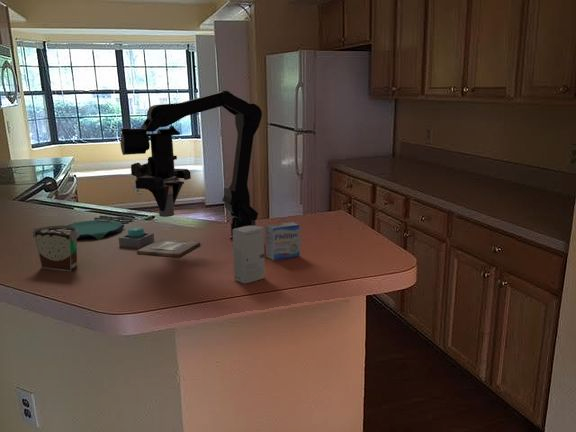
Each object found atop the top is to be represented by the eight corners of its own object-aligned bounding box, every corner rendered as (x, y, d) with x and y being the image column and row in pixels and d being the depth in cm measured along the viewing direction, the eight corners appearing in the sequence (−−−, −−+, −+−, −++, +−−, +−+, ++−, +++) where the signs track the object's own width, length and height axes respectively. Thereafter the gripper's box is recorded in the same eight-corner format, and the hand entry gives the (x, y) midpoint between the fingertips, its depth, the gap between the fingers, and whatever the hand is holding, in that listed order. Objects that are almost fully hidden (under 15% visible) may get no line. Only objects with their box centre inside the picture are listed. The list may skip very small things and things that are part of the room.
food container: (93, 264, 126) (89, 226, 124) (76, 272, 121) (71, 232, 118) (55, 260, 130) (50, 223, 128) (36, 267, 125) (31, 229, 122)
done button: (147, 235, 145) (146, 228, 144) (138, 239, 141) (137, 231, 140) (134, 234, 146) (133, 227, 146) (125, 238, 142) (124, 230, 142)
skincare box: (245, 284, 110) (243, 232, 108) (233, 279, 114) (231, 228, 111) (266, 277, 114) (264, 227, 112) (253, 273, 118) (252, 224, 115)
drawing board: (200, 244, 142) (200, 241, 142) (178, 257, 131) (178, 253, 131) (161, 241, 146) (160, 238, 146) (136, 253, 135) (136, 249, 135)
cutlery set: (42, 240, 151) (42, 232, 150) (96, 219, 179) (96, 212, 179) (102, 243, 147) (102, 235, 147) (147, 221, 176) (147, 214, 176)
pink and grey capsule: (177, 213, 138) (175, 185, 136) (169, 217, 134) (167, 188, 132) (164, 213, 139) (162, 185, 137) (156, 216, 135) (153, 187, 133)
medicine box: (273, 261, 126) (272, 228, 124) (265, 256, 130) (265, 224, 128) (300, 256, 130) (299, 224, 128) (292, 252, 134) (291, 221, 132)
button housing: (154, 241, 146) (153, 233, 146) (140, 248, 140) (139, 239, 139) (134, 240, 148) (133, 231, 148) (119, 246, 142) (118, 237, 141)
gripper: (155, 148, 143) (160, 201, 147) (115, 155, 126) (120, 215, 130) (189, 149, 140) (193, 203, 144) (152, 156, 123) (157, 217, 126)
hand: (166, 209), depth 136 cm, fingers closed on pink and grey capsule, 4 cm apart
